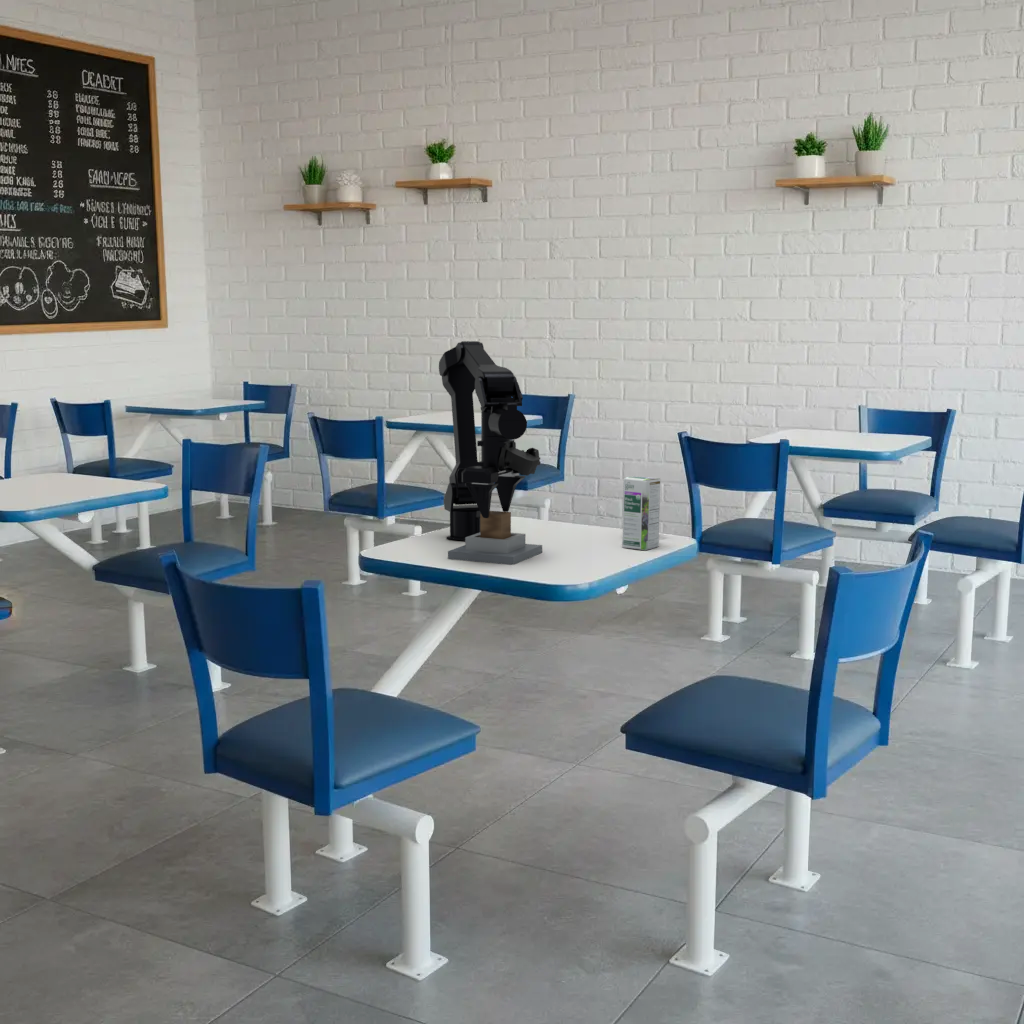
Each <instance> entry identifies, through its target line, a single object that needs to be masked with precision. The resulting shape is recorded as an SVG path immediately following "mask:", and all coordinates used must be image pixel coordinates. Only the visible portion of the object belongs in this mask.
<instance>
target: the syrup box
mask: <svg viewBox="0 0 1024 1024" xmlns="http://www.w3.org/2000/svg"><path fill="white" fill-rule="evenodd" d="M622 489H623V493H622V496H623V497H622V499H623V500H622V507H623V509H622V537H621V539H622V540H621V546H622V549H633V550H640V551H647V550H648V551H649V550H651V549H655V548H658V547H659V545H660V543H659V542H660V538H659V537H660V509H661V508H660V507H661V506H660V505H661V501H660V500H661V477H660V478H659V477H648V476H636V475H632V476H627V477H624V478H623V488H622Z"/></svg>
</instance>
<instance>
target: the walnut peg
mask: <svg viewBox="0 0 1024 1024" xmlns="http://www.w3.org/2000/svg"><path fill="white" fill-rule="evenodd" d="M511 512H512V511H511ZM511 512H510V511H508V512H504V511H498V510H490V513H489V517H488V518H483V517H482V515H481V514H480V537H481V538H493V539H506V538H509V537H511V533H512V513H511Z"/></svg>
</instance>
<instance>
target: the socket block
mask: <svg viewBox="0 0 1024 1024" xmlns="http://www.w3.org/2000/svg"><path fill="white" fill-rule="evenodd" d="M464 543H465V544H464V545H461V546H459V547H456V548H453V549H451V550H448V551H447V559H448V560H457V561H458V560H459V561H468V562H469V561H470V562H481V563H490V562H491V563H493V564H501V563H502V564H503V565H512V564H514V565H516V564H518V563H520V561H521V562H524V561H525V559H526V560H528V559H529V558H532V557H535V556H537V555H540V554H542V553H543V545H542V544H534V543H533V544H532V543H526V533H519V532H511V537H509V538H506V539H493V538H481V537H480V533H477V534H474V535H471V536H468V537H465V540H464ZM527 558H528V559H527ZM491 563H490V564H491ZM502 564H501V565H502Z"/></svg>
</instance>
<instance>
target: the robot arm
mask: <svg viewBox="0 0 1024 1024" xmlns="http://www.w3.org/2000/svg"><path fill="white" fill-rule="evenodd" d="M438 372H439V375H440V376H441V381H442V386H443V388H444V389H445V390H446V392H447V393H448V394H449V396H450V400H451V401H450V402H451V416H452V427H453V440H454V455H455V456H454V458H455V465H454V467H453V469H452V472H451V473H450V475H449V481H448V484H447V488H446V491H445V495H444V497H443V507H444V510H445V511H448V512H449V535H447V536H446V537H445V539H446V540H455V541H465V537H468V536H471V535H474V534H477V533H480V514H481V515H482V517H483V518H488V517H489V513H490V511H491V502H492V495H493V491H494V490H495V488H496V493H497V495H498V498H499V503H500V506H501V509H502V512H510V508H511V504H512V501H513V497H514V494H515V491H516V488H517V485H518V484H519V483H520V482H521V481H523V480H524V479H525V478H526V477H527V476H530V475H534V474H535V472H536V470H537V467H538V466H540V465H541V457H540V452H539V449H536V448H535V447H530V448H529V447H528V449H526V451H525V450H524V449H522V450H520V449H518V448H517V443H516V441H515V440H517V439H519V438H521V437H523V435H524V434H525V433H526V431H527V429H528V428H527V427H528V420H527V418H526V416H525V415H524V414H523V412H522V411H520V410H519V409H518V407H522V406H523V399H524V396H523V393H522V391H521V387H520V385H519V382H518V379H517V377H516V376H515V375H514V373H513V371H512V370H510V369H509V368H507V367H504V366H499V365H497V364H496V363H495V361H494V360H493V359H492V358H491V357H490V355H489V354H488V352H487V351H486V350H485V348H484V344H483V342H480V341H478V340H474V341H473V340H471V341H469V340H463V341H462V340H461V341H460V342H458V343H456V345H455V346H454V347H452V348H450V349H448V350H447V351H444V352H443V354H442V356H441V357H440V359H439V361H438ZM474 391H475V394H476V396H477V399H478V402H479V404H480V412H481V413H480V414H481V420H480V421H481V423H480V424H481V426H480V427H481V431H480V432H481V434H480V435H481V436H480V437H481V438H480V439H481V440H477V437H476V436H477V433H476V423H475V422H476V421H475V409H474V408H475V407H474V396H473V394H474ZM477 447H481V448H480V451H481V452H480V454H481V455H480V456H481V457H480V459H481V460H480V461H479V460H478V451H477V450H478V448H477Z"/></svg>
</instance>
